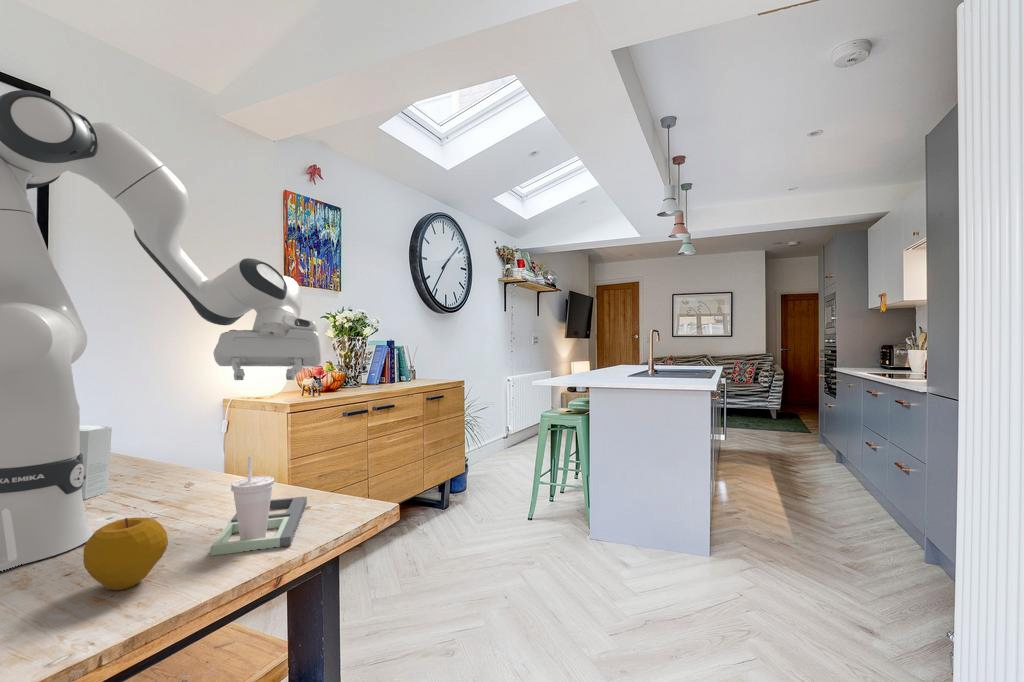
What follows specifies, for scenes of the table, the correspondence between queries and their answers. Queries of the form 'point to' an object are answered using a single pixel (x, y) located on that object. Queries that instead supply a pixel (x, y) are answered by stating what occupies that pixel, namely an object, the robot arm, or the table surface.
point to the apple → (124, 551)
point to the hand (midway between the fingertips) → (264, 378)
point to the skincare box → (95, 459)
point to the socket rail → (282, 521)
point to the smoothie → (252, 503)
